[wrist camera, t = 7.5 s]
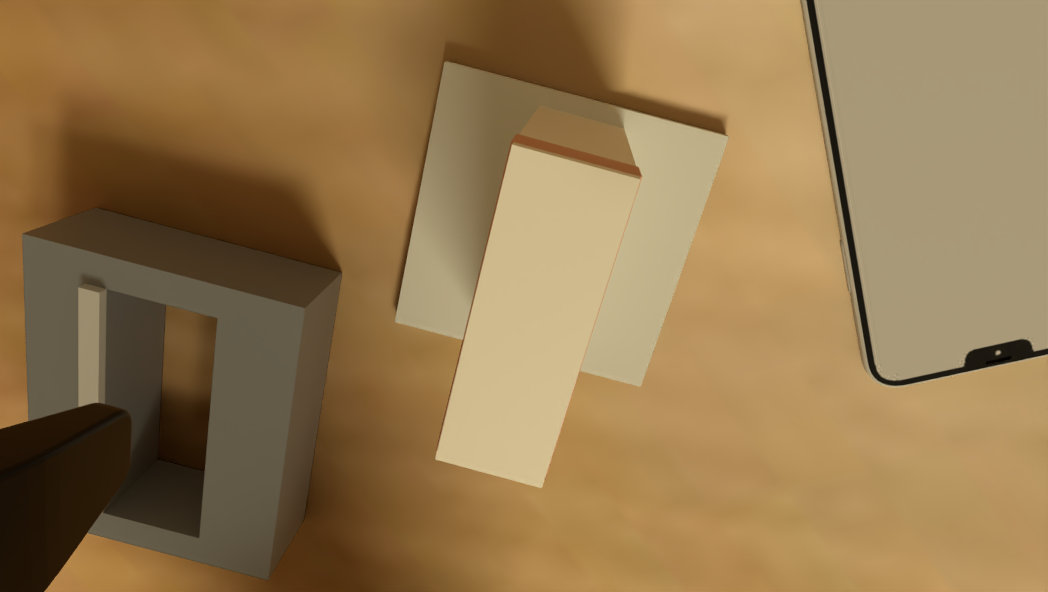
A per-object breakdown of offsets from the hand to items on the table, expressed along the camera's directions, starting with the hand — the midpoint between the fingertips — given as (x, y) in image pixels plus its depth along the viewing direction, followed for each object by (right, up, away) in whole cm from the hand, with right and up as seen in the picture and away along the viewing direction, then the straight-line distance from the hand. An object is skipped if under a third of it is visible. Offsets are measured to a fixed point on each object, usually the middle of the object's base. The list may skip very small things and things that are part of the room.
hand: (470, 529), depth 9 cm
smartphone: (+13, +8, +10) cm, 18 cm away
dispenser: (-10, 0, +15) cm, 18 cm away
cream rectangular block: (+1, +5, +11) cm, 13 cm away
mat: (+2, +5, +12) cm, 13 cm away
